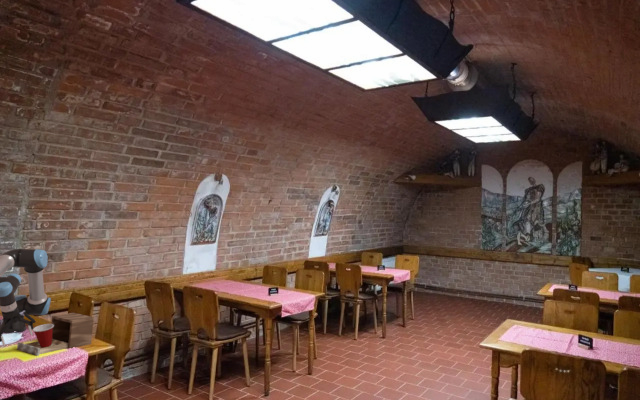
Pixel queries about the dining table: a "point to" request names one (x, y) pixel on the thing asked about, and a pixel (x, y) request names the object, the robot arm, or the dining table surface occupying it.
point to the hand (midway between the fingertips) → (18, 339)
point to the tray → (36, 348)
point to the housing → (73, 329)
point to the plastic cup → (44, 334)
